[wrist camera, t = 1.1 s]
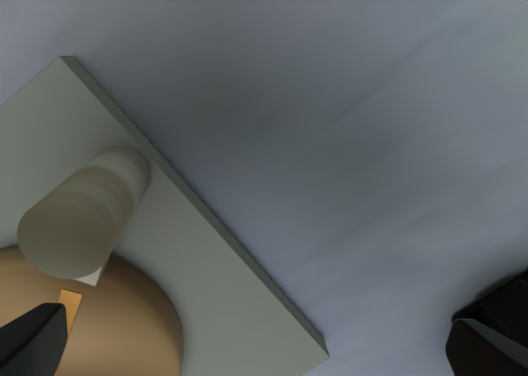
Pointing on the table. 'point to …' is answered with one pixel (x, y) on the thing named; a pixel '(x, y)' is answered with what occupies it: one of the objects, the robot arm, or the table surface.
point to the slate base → (154, 230)
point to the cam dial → (93, 273)
